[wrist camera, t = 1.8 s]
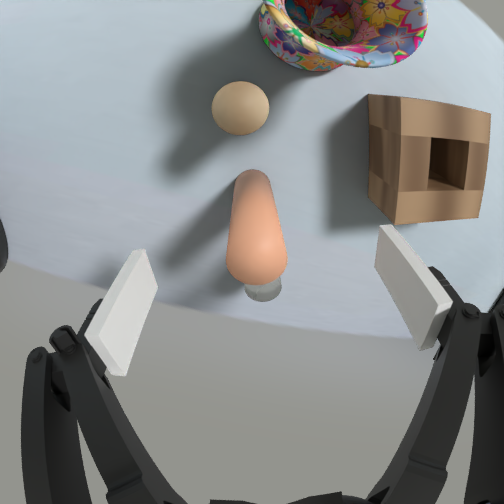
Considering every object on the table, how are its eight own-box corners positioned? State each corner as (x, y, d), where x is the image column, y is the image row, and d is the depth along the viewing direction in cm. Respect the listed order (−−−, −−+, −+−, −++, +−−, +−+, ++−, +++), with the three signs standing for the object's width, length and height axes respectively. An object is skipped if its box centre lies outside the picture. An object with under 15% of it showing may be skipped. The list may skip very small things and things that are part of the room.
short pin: (247, 271, 30) (247, 303, 26) (243, 244, 28) (242, 275, 24) (277, 268, 30) (282, 299, 26) (275, 241, 28) (280, 271, 24)
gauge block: (367, 197, 26) (394, 224, 21) (367, 94, 20) (400, 97, 15) (445, 193, 25) (478, 217, 20) (451, 104, 20) (490, 113, 15)
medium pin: (225, 124, 22) (215, 138, 15) (220, 88, 20) (208, 85, 14) (263, 119, 22) (271, 132, 15) (259, 83, 20) (265, 78, 13)
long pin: (237, 205, 26) (231, 287, 16) (232, 171, 24) (221, 237, 14) (271, 201, 26) (288, 281, 16) (268, 167, 24) (285, 230, 14)
